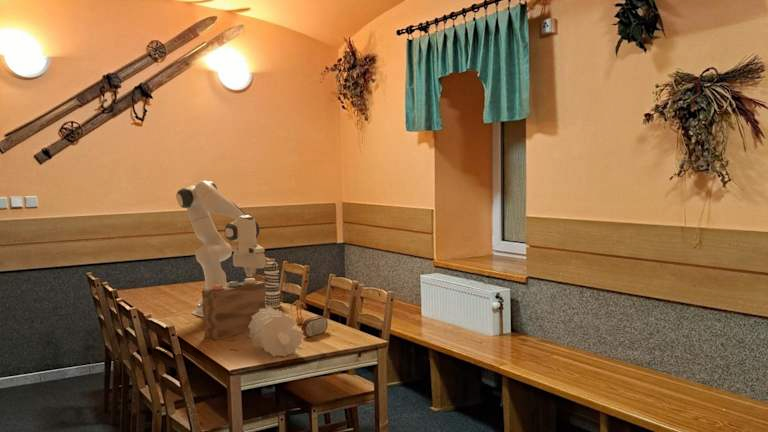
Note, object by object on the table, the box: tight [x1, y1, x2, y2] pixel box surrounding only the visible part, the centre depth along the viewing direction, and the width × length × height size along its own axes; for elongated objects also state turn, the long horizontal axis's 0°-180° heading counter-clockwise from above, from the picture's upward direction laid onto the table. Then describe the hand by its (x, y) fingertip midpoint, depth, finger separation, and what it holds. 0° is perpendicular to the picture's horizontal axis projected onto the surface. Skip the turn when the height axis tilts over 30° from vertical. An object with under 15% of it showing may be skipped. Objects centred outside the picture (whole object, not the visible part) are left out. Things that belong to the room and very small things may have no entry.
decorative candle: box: [263, 261, 282, 309], centre depth 388 cm, size 9×9×25 cm
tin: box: [301, 315, 328, 338], centre depth 319 cm, size 15×3×8 cm, turn 141°
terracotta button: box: [212, 285, 223, 291], centre depth 322 cm, size 5×5×2 cm
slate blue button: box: [228, 280, 240, 288], centre depth 330 cm, size 5×5×2 cm
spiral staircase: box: [248, 307, 304, 358], centre depth 292 cm, size 18×18×25 cm
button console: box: [201, 280, 267, 340], centre depth 331 cm, size 10×30×22 cm, turn 143°
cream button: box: [244, 277, 256, 285], centre depth 338 cm, size 5×5×2 cm
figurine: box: [290, 299, 308, 325], centre depth 343 cm, size 8×6×12 cm
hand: (249, 276), depth 338 cm, fingers closed
